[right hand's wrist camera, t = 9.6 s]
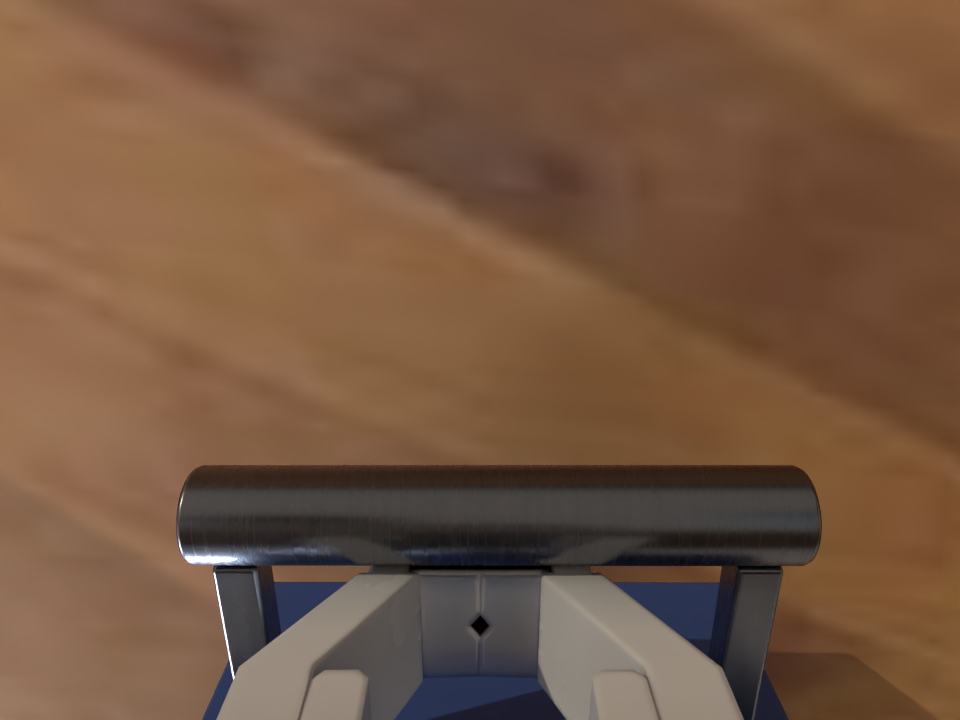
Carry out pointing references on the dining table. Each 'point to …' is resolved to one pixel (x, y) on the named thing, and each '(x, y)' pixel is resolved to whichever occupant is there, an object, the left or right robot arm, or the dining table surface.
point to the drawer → (507, 551)
